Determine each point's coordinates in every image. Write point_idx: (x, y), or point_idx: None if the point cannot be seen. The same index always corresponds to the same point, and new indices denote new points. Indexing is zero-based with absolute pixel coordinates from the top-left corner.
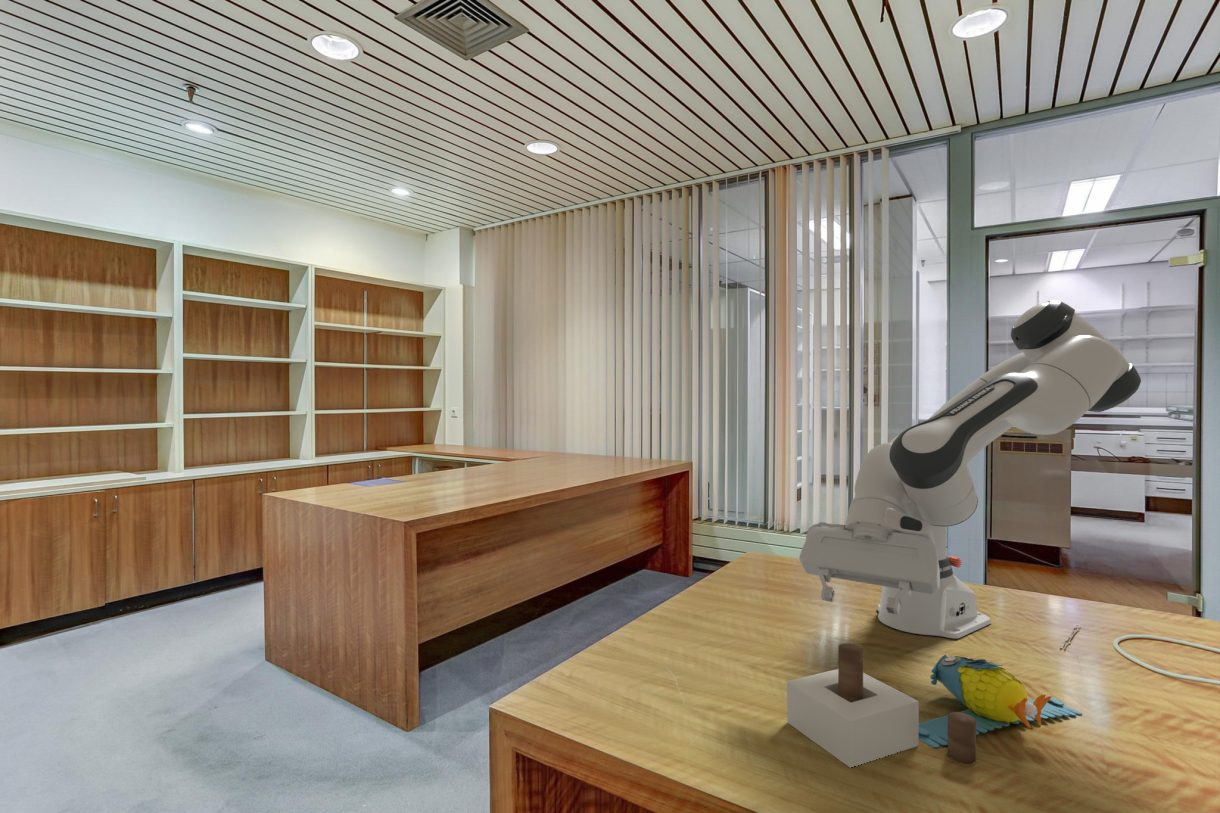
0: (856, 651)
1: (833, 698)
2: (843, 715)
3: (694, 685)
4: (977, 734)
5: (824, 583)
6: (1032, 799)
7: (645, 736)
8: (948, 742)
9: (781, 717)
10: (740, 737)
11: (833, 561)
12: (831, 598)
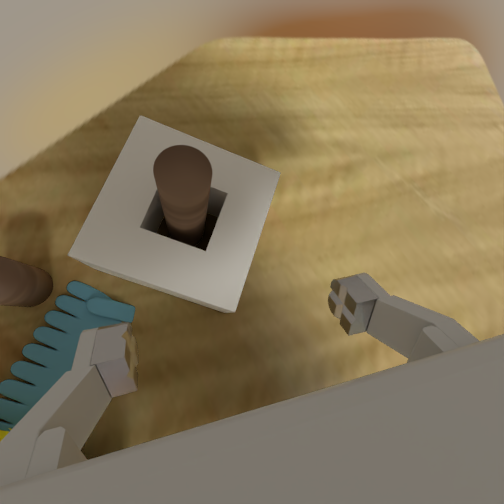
0: (163, 160)
1: None
2: (156, 124)
3: (402, 204)
4: (13, 364)
5: (393, 300)
6: None
7: (349, 76)
8: (39, 272)
9: (276, 208)
10: (282, 134)
11: (474, 378)
12: (334, 297)
